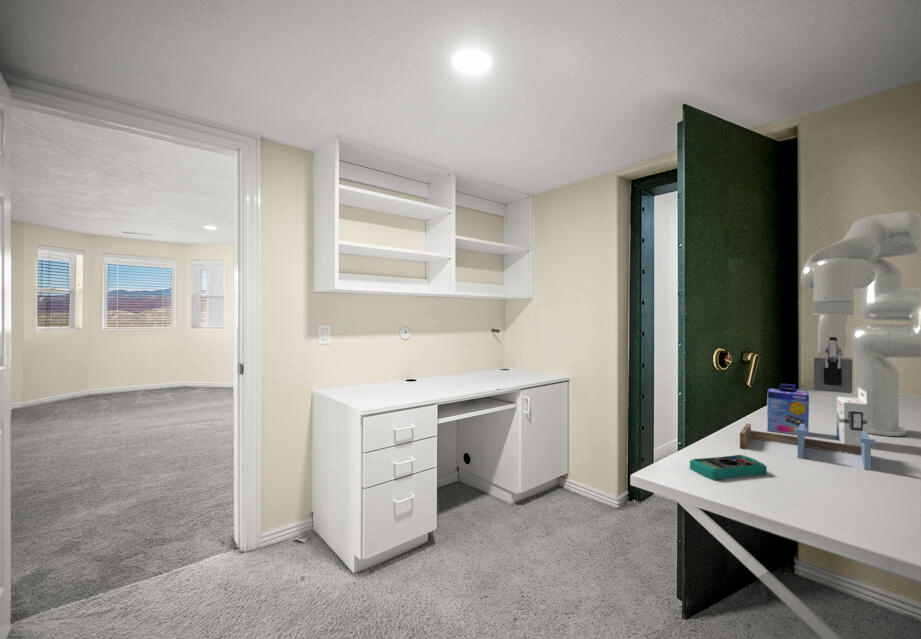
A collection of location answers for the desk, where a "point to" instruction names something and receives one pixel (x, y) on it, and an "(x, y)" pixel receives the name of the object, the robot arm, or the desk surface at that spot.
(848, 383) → the charcoal plug
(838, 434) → the ink box
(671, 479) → the desk surface
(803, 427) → the pair of blue brackets
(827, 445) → the brown l-shaped bracket
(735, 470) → the digital multimeter
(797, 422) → the ink cartridge box
